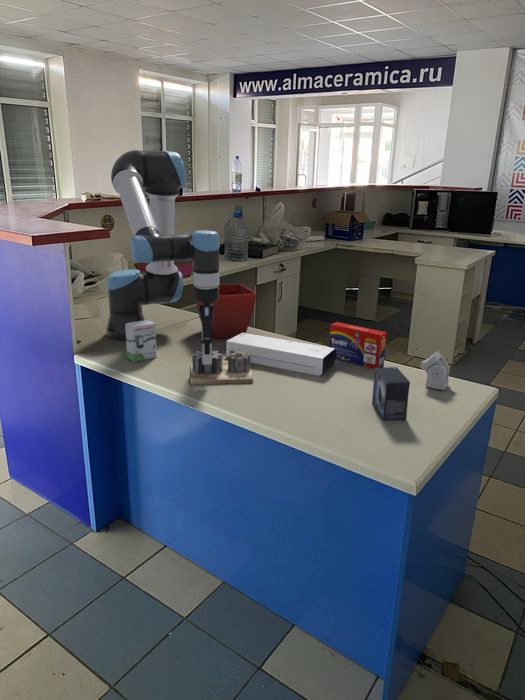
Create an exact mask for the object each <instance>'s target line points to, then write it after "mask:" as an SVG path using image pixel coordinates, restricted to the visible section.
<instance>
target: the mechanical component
mask: <svg viewBox="0 0 525 700" xmlns="http://www.w3.org/2000/svg"><path fill="white" fill-rule="evenodd" d="M419 367H420V368H421V370H423V371H424V372H425V373H426V374H427V376H426V380H425V382H426V383H425V388H426V387H427V388H430V389H435V390H439V391H440V390H441V391H445V390H446V389H447V387H448V386H449V378H450V377H449V375H450V365H449V364H448V362H447V360H445V358H444V356H442V354H441V353H440V352H439V351H436V352H434V353H433V354H431V355H430V356H428V358H426V359H424V360H422V361H421V363H420V364H419Z"/></svg>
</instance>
